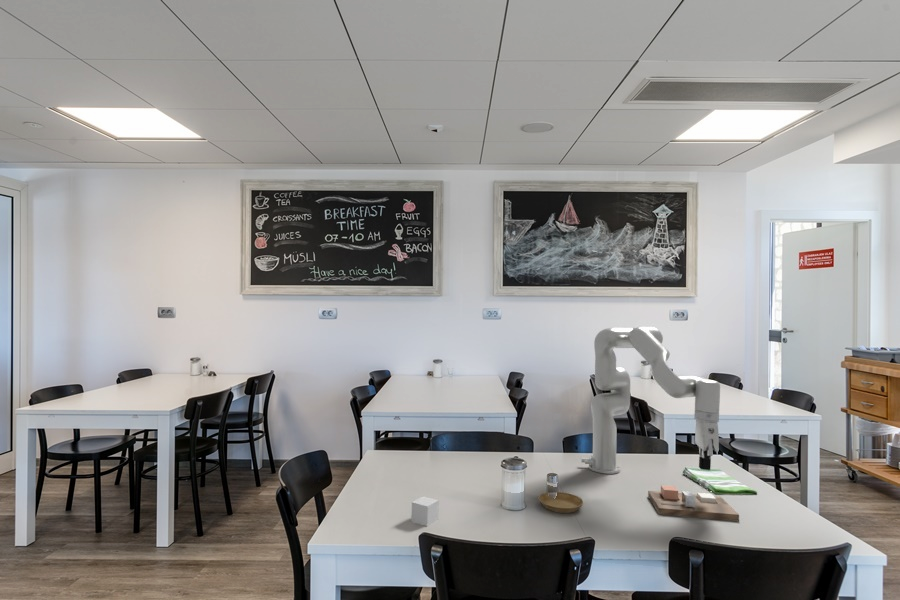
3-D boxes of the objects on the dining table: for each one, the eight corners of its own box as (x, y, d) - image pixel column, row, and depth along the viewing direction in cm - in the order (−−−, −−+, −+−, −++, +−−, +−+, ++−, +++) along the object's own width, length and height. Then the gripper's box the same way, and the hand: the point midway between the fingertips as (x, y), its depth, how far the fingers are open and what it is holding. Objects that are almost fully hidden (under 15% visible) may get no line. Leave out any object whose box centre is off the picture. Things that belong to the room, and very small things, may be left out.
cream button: (701, 506, 167) (701, 497, 168) (697, 501, 172) (697, 492, 172) (716, 507, 167) (716, 498, 167) (711, 502, 171) (711, 493, 171)
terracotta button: (664, 498, 170) (664, 489, 170) (660, 493, 174) (660, 485, 174) (678, 499, 169) (678, 490, 169) (674, 494, 173) (674, 486, 173)
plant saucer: (529, 502, 170) (530, 494, 170) (565, 496, 176) (565, 489, 176) (555, 519, 156) (555, 510, 156) (592, 512, 162) (592, 504, 162)
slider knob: (685, 506, 162) (685, 495, 162) (681, 501, 166) (681, 491, 166) (695, 507, 161) (695, 496, 161) (691, 502, 165) (691, 491, 165)
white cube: (427, 526, 149) (427, 506, 149) (411, 521, 152) (411, 502, 152) (438, 519, 154) (438, 500, 154) (422, 515, 157) (422, 496, 157)
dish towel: (721, 475, 204) (721, 466, 204) (759, 495, 181) (759, 486, 181) (681, 475, 203) (681, 466, 204) (713, 495, 180) (713, 486, 181)
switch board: (659, 514, 161) (659, 507, 161) (648, 496, 177) (648, 490, 177) (738, 521, 157) (739, 514, 157) (720, 502, 173) (720, 496, 173)
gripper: (726, 421, 162) (724, 477, 162) (710, 411, 177) (708, 463, 177) (702, 420, 164) (700, 475, 164) (688, 410, 178) (686, 461, 178)
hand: (704, 468), depth 170 cm, fingers closed
